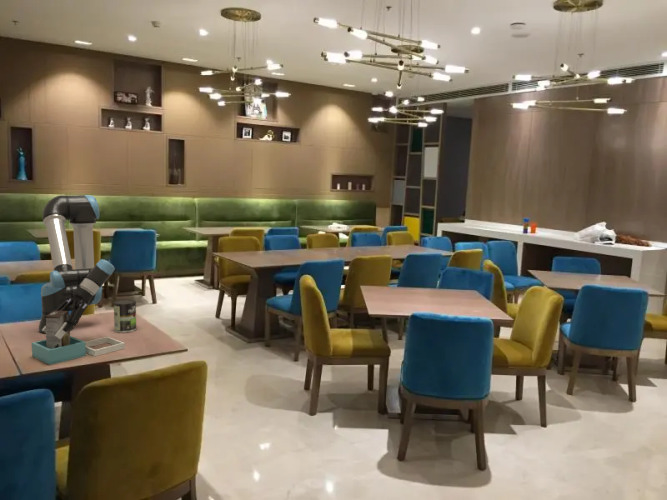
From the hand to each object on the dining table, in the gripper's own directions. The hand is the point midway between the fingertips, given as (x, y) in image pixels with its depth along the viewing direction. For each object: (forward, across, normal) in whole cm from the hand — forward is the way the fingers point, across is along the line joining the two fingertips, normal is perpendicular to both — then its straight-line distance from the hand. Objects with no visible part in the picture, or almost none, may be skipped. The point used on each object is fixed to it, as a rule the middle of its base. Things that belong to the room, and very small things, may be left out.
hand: (51, 334), depth 230 cm
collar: (-7, -4, -21) cm, 22 cm away
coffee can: (-23, +14, -37) cm, 46 cm away
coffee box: (+3, 0, -8) cm, 8 cm away
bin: (+5, 0, -9) cm, 10 cm away
